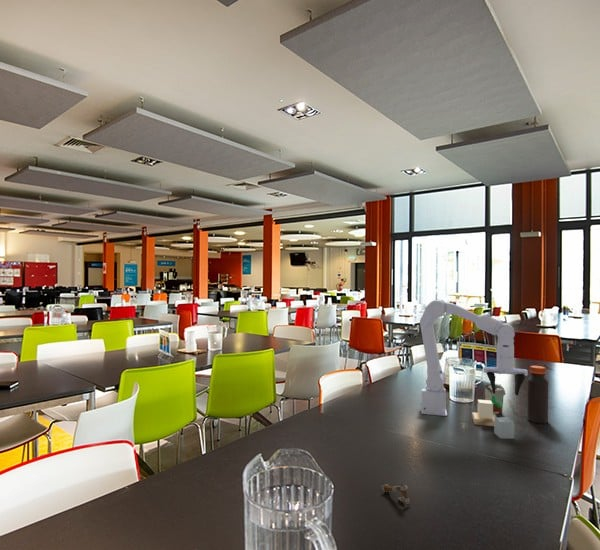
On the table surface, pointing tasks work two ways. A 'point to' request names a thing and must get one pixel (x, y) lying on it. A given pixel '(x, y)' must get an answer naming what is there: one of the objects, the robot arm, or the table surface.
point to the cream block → (485, 409)
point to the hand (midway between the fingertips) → (505, 393)
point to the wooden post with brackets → (398, 488)
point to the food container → (495, 398)
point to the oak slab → (482, 420)
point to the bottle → (537, 396)
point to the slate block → (504, 427)
